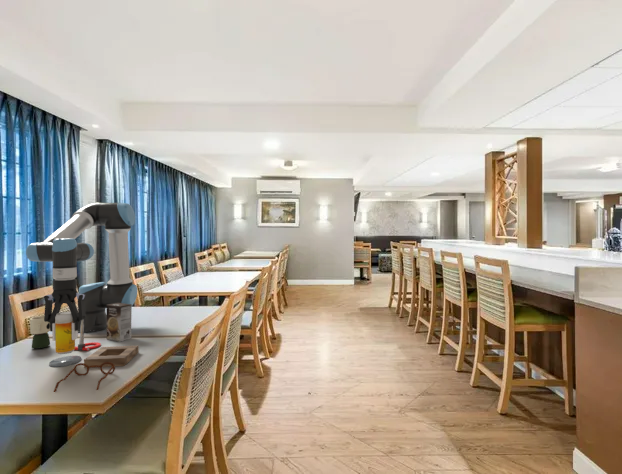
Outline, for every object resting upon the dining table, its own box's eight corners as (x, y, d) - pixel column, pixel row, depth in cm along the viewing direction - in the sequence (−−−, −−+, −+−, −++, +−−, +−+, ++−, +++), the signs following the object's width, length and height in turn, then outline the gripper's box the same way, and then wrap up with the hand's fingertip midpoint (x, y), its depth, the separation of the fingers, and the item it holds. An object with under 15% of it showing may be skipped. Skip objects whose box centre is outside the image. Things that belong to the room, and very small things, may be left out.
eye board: (102, 354, 140) (102, 346, 140) (138, 352, 142) (138, 345, 142) (84, 367, 126) (84, 359, 126) (124, 365, 128) (124, 357, 128)
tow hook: (88, 344, 154) (70, 350, 145) (89, 315, 154) (72, 319, 145) (105, 345, 152) (88, 351, 143) (106, 316, 153) (89, 320, 144)
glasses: (115, 374, 121) (115, 360, 121) (97, 391, 108) (97, 375, 108) (75, 376, 119) (75, 362, 119) (52, 394, 106) (51, 378, 106)
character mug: (49, 349, 145) (49, 319, 145) (28, 352, 142) (27, 321, 141) (52, 342, 155) (52, 313, 154) (32, 345, 151) (32, 315, 151)
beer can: (73, 353, 130) (73, 313, 130) (53, 355, 127) (53, 315, 127) (76, 348, 136) (75, 310, 135) (57, 350, 133) (56, 312, 133)
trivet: (59, 357, 136) (59, 356, 136) (86, 356, 137) (86, 355, 137) (42, 367, 126) (42, 365, 126) (72, 366, 127) (72, 364, 127)
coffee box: (105, 339, 159) (105, 304, 159) (118, 335, 165) (118, 302, 165) (120, 341, 156) (119, 306, 156) (132, 337, 162) (132, 303, 162)
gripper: (30, 280, 126) (31, 343, 127) (86, 279, 129) (87, 341, 129) (44, 278, 134) (44, 337, 134) (96, 277, 136) (96, 335, 136)
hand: (65, 339), depth 131 cm, fingers closed on beer can, 6 cm apart
